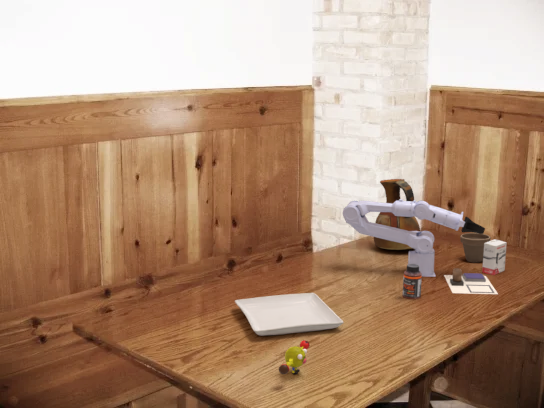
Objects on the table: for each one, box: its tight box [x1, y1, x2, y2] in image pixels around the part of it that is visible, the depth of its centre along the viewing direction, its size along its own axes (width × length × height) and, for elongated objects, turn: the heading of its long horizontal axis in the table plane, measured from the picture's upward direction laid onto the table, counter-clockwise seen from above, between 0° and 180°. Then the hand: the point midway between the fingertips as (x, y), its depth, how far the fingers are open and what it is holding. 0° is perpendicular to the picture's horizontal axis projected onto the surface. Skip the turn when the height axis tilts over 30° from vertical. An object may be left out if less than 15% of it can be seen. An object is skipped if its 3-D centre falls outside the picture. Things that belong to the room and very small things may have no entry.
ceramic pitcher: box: [373, 178, 422, 251], centre depth 283 cm, size 20×20×30 cm
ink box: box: [481, 239, 507, 276], centre depth 251 cm, size 8×5×12 cm, turn 134°
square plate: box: [234, 292, 344, 337], centre depth 208 cm, size 27×27×4 cm
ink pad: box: [462, 272, 486, 282], centre depth 243 cm, size 7×6×1 cm
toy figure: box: [278, 339, 310, 375], centre depth 172 cm, size 18×6×7 cm, turn 158°
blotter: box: [443, 274, 499, 295], centre depth 238 cm, size 15×20×1 cm
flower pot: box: [459, 232, 492, 263], centre depth 268 cm, size 12×11×10 cm
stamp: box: [450, 267, 464, 286], centre depth 238 cm, size 4×4×5 cm
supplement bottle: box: [402, 263, 423, 300], centre depth 225 cm, size 6×6×11 cm
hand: (483, 230), depth 242 cm, fingers open, 7 cm apart
